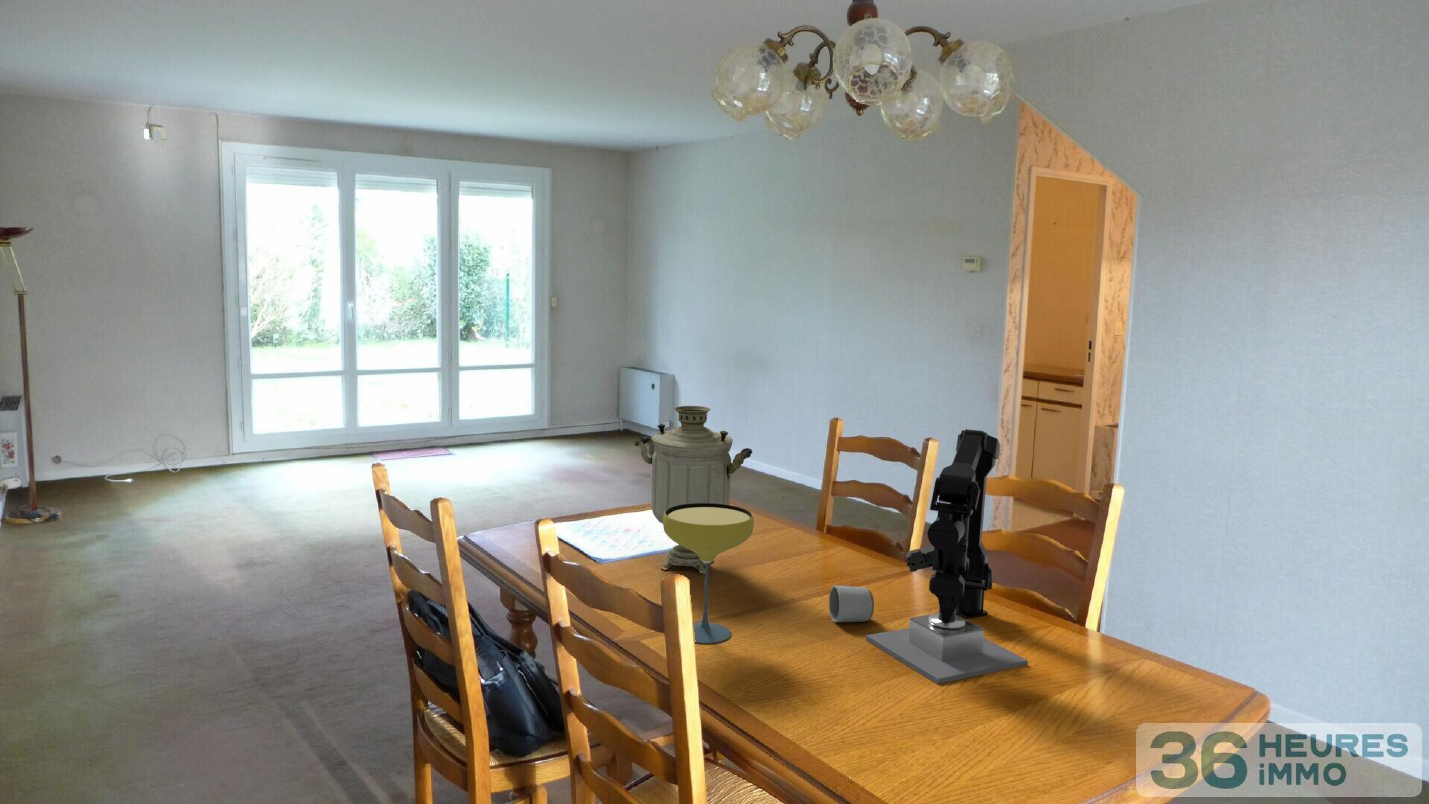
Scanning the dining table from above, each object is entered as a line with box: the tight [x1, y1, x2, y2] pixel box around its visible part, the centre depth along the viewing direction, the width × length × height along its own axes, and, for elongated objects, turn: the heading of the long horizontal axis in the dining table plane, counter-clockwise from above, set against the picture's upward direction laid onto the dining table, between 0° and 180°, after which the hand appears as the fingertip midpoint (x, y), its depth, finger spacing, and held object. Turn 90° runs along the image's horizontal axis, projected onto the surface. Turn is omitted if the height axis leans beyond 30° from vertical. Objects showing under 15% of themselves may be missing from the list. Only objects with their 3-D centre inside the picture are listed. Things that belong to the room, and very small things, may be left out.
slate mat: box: [865, 627, 1029, 685], centre depth 181 cm, size 22×22×1 cm
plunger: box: [928, 606, 965, 629], centre depth 180 cm, size 7×7×8 cm
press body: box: [908, 612, 985, 661], centre depth 181 cm, size 10×10×5 cm
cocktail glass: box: [662, 503, 755, 645], centre depth 185 cm, size 18×18×25 cm
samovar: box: [633, 405, 753, 573], centre depth 230 cm, size 30×26×40 cm
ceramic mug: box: [828, 584, 875, 623], centre depth 198 cm, size 11×8×8 cm
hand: (947, 615), depth 180 cm, fingers open, 9 cm apart
